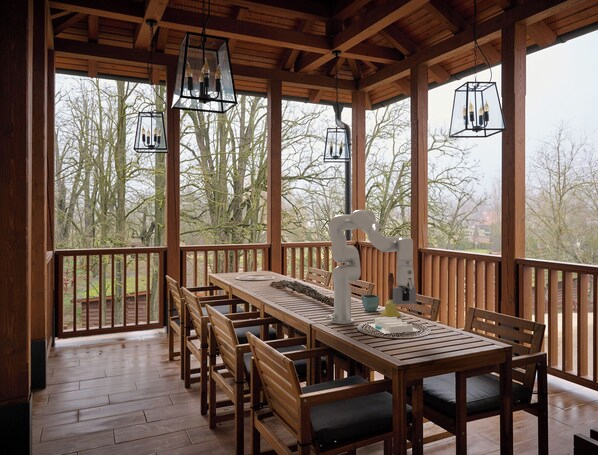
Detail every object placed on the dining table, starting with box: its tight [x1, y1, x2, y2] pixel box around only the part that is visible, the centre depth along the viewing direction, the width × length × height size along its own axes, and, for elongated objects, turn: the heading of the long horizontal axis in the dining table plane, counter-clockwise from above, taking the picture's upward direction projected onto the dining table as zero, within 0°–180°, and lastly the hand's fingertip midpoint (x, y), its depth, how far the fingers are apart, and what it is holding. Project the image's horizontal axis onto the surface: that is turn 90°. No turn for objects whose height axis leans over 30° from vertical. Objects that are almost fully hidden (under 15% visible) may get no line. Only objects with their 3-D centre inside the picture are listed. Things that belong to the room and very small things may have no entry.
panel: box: [393, 285, 417, 305], centre depth 230 cm, size 11×3×8 cm, turn 106°
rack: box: [367, 317, 420, 334], centre depth 247 cm, size 20×20×4 cm
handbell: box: [380, 272, 402, 318], centre depth 279 cm, size 12×12×25 cm
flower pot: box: [361, 294, 381, 312], centre depth 291 cm, size 9×9×9 cm
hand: (404, 299), depth 230 cm, fingers closed on panel, 3 cm apart
